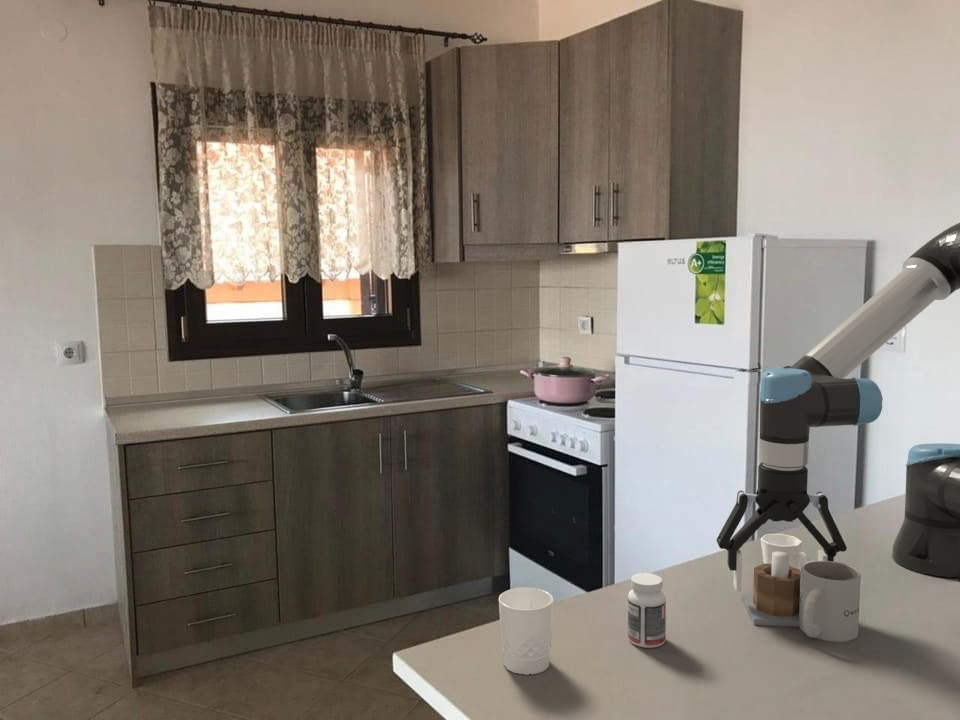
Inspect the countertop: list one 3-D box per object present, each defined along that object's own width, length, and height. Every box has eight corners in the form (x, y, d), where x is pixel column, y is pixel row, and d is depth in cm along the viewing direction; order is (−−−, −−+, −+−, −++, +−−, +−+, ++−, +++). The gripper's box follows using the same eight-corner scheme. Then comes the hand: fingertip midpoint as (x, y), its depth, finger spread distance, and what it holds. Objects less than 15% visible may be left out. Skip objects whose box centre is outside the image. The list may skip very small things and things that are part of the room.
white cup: (537, 683, 112) (537, 614, 111) (489, 668, 116) (488, 602, 115) (562, 659, 119) (562, 594, 117) (516, 646, 123) (515, 583, 121)
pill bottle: (667, 634, 126) (668, 574, 124) (663, 651, 120) (664, 588, 119) (630, 630, 128) (631, 569, 126) (624, 646, 122) (625, 583, 121)
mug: (819, 614, 133) (822, 556, 132) (869, 634, 126) (872, 573, 125) (772, 634, 126) (774, 573, 125) (821, 656, 119) (824, 591, 118)
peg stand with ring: (801, 601, 137) (803, 544, 136) (819, 627, 127) (821, 566, 126) (741, 598, 139) (742, 542, 137) (753, 624, 129) (755, 564, 127)
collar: (794, 598, 136) (795, 564, 135) (806, 617, 129) (807, 581, 128) (750, 596, 137) (751, 563, 136) (759, 615, 130) (760, 579, 129)
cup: (777, 572, 150) (778, 530, 149) (823, 591, 141) (825, 546, 140) (750, 580, 147) (752, 537, 146) (796, 599, 138) (798, 554, 137)
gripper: (855, 459, 132) (850, 582, 135) (700, 457, 135) (698, 578, 138) (871, 471, 125) (865, 601, 128) (708, 469, 128) (705, 596, 131)
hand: (779, 589), depth 133 cm, fingers open, 13 cm apart
